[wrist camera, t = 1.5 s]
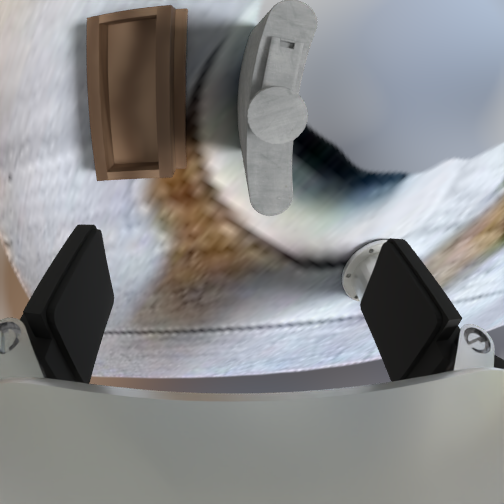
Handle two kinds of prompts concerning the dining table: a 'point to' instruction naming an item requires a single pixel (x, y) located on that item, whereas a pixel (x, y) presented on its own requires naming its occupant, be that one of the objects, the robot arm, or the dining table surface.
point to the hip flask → (273, 102)
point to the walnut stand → (137, 92)
